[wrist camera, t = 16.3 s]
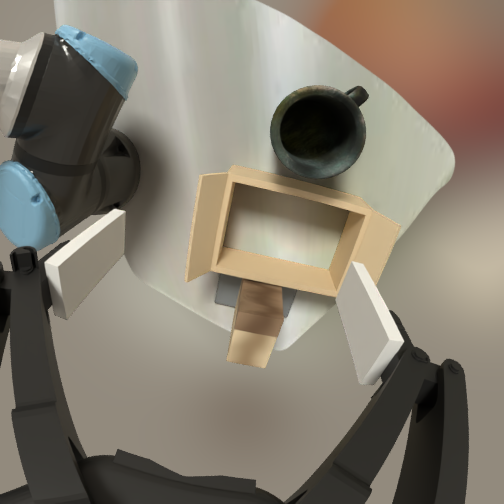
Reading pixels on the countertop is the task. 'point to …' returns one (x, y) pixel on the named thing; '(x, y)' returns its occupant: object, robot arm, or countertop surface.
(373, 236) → the carton
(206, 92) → the countertop surface
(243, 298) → the block
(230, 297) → the mat
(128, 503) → the robot arm
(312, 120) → the mug
